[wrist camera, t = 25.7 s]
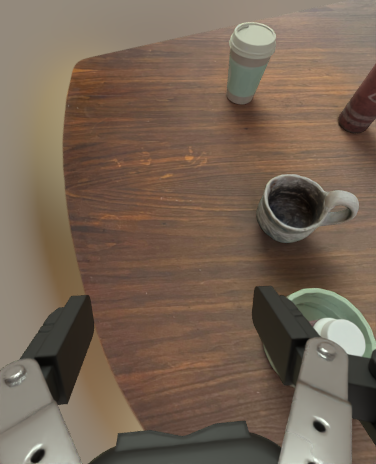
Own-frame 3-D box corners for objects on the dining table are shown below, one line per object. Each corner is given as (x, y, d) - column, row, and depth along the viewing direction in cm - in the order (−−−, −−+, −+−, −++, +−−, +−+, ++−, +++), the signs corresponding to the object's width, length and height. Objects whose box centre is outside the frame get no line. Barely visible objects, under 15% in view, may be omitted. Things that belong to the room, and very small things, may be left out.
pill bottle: (295, 362, 32) (332, 367, 24) (285, 324, 34) (317, 317, 26) (329, 359, 32) (377, 362, 25) (318, 321, 34) (359, 313, 27)
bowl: (363, 388, 32) (395, 395, 27) (271, 397, 31) (288, 406, 26) (333, 292, 37) (355, 285, 32) (253, 298, 36) (264, 291, 31)
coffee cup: (240, 78, 57) (255, 15, 47) (266, 99, 55) (289, 37, 44) (212, 92, 55) (221, 28, 44) (238, 114, 52) (254, 53, 41)
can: (371, 124, 53) (433, 53, 40) (357, 138, 51) (417, 69, 38) (346, 109, 55) (398, 37, 42) (331, 122, 53) (381, 51, 40)
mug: (250, 194, 44) (270, 154, 35) (320, 203, 44) (359, 165, 35) (250, 245, 39) (273, 214, 30) (328, 254, 39) (374, 226, 30)
